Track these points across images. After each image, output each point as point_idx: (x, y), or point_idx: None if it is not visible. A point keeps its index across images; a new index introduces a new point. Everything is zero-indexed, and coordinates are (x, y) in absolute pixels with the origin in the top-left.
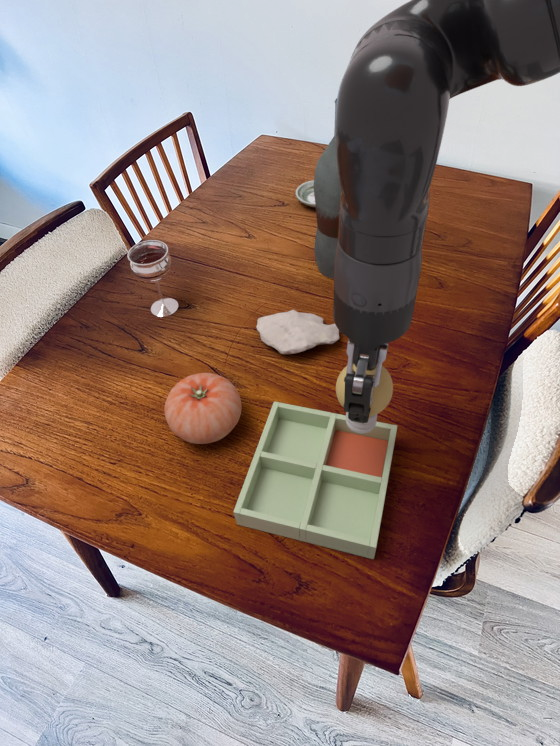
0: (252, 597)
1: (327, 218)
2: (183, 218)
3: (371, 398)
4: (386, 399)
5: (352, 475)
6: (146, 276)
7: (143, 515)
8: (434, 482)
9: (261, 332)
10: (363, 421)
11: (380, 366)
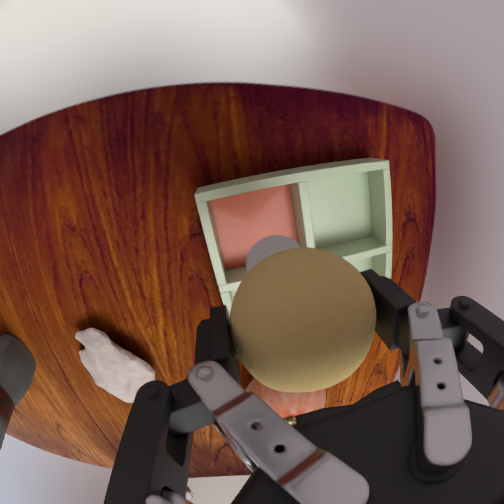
0: (424, 253)
1: (3, 418)
2: (89, 460)
3: (436, 317)
4: (340, 265)
5: (310, 222)
6: (189, 492)
7: (378, 361)
8: (241, 113)
9: None
10: (393, 281)
11: (461, 391)
